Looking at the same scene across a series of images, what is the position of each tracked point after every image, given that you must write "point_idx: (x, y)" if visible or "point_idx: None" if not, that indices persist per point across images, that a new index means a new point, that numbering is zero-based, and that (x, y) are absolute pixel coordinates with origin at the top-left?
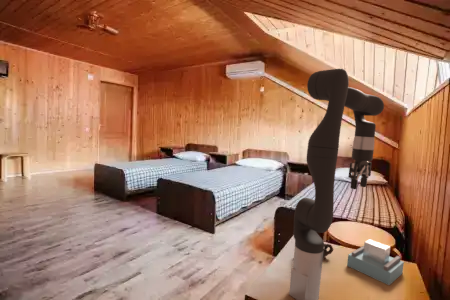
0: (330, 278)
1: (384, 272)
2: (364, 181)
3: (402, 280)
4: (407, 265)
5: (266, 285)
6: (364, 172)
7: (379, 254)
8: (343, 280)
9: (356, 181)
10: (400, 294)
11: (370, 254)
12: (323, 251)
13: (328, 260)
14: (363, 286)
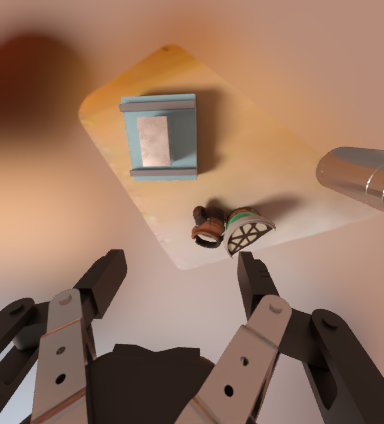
0: (260, 170)
1: (195, 106)
2: (108, 279)
3: (155, 90)
4: (89, 108)
5: (354, 212)
6: (114, 351)
7: (170, 129)
8: (248, 154)
9: (263, 288)
10: (208, 71)
11: (172, 147)
12: (213, 214)
13: (208, 201)
14: (238, 125)
